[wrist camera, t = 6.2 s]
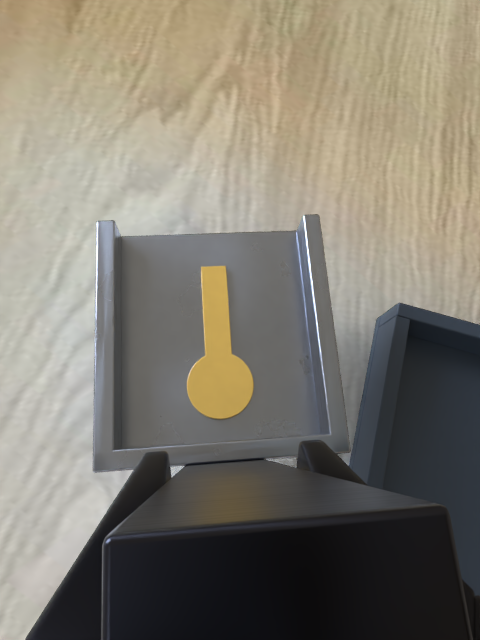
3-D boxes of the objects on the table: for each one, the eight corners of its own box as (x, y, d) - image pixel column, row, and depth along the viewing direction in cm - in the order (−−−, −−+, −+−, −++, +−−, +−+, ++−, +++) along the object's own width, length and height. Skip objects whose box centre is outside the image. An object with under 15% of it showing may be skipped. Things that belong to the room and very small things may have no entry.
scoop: (346, 529, 14) (944, 894, 3) (104, 552, 14) (-491, 1162, 2) (309, 234, 17) (524, -212, 5) (106, 241, 16) (-137, -250, 5)
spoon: (255, 417, 15) (256, 416, 14) (188, 421, 14) (188, 421, 14) (243, 267, 16) (244, 264, 16) (182, 269, 16) (182, 266, 16)
